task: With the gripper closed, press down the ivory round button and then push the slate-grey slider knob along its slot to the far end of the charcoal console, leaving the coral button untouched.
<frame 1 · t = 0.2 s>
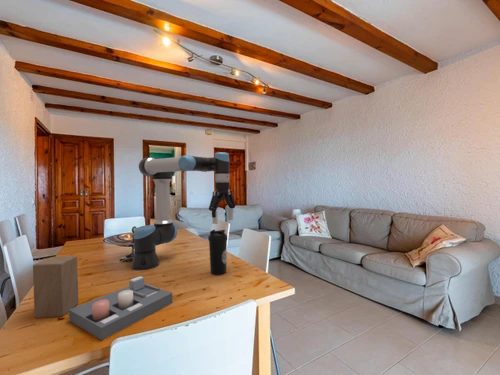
hand: (223, 221, 132), 28 cm above the table, fingers open, 13 cm apart
wooden block: (57, 311, 96), on the table
slider knob: (137, 283, 106), point 6 cm above the table, slide at 0.0 cm
console: (124, 311, 95), on the table
button coral: (100, 310, 85), point 6 cm above the table, slide at 0.0 cm
water bottle: (218, 272, 135), on the table
button ivory: (125, 299, 93), point 6 cm above the table, slide at 0.0 cm
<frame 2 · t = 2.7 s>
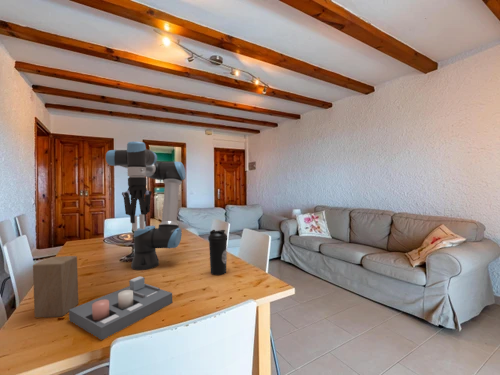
hand: (138, 229, 111), 29 cm above the table, fingers open, 3 cm apart
nothing on the table moved.
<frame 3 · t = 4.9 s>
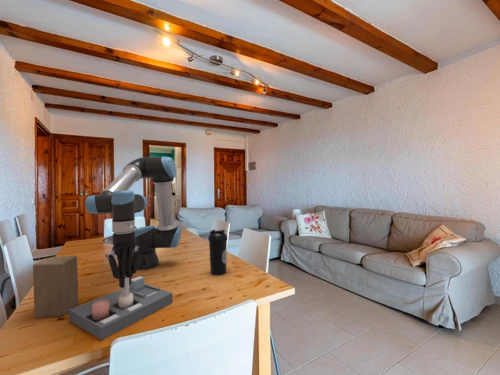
hand: (125, 294, 93), 8 cm above the table, fingers closed
button ivory: (125, 301, 93), point 5 cm above the table, slide at 1.0 cm, touching gripper
everything else where it was.
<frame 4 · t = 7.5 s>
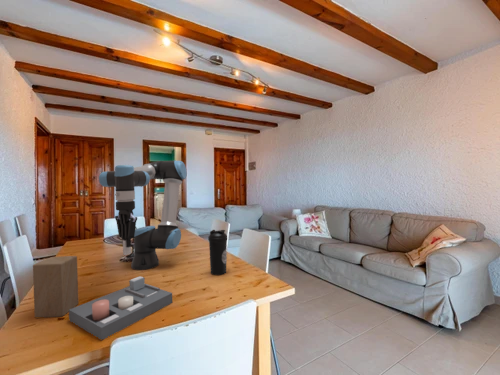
hand: (127, 254, 109), 18 cm above the table, fingers closed
button ivory: (125, 305, 93), point 3 cm above the table, slide at 2.3 cm
everything else where it was.
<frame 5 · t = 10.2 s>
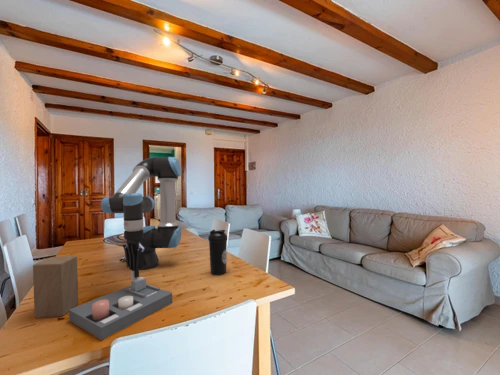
hand: (135, 284, 106), 6 cm above the table, fingers closed
slider knob: (138, 284, 105), point 6 cm above the table, slide at 1.1 cm, touching gripper
everything else where it was.
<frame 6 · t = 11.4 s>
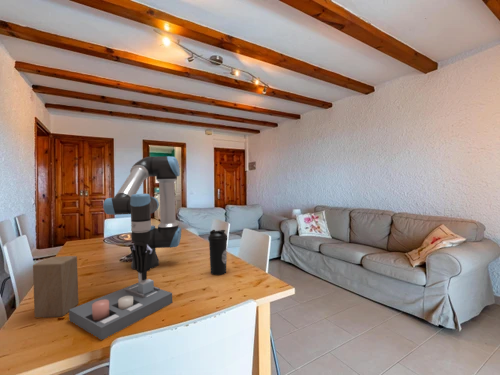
hand: (142, 287, 103), 6 cm above the table, fingers closed
slider knob: (146, 286, 102), point 6 cm above the table, slide at 6.1 cm, touching gripper
everything else where it was.
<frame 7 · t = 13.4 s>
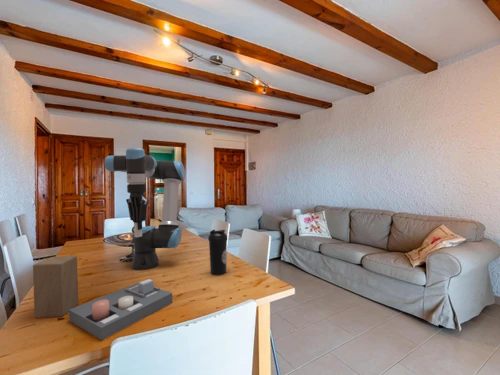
hand: (138, 236, 110), 25 cm above the table, fingers closed
slider knob: (146, 286, 102), point 6 cm above the table, slide at 6.2 cm
everything else where it was.
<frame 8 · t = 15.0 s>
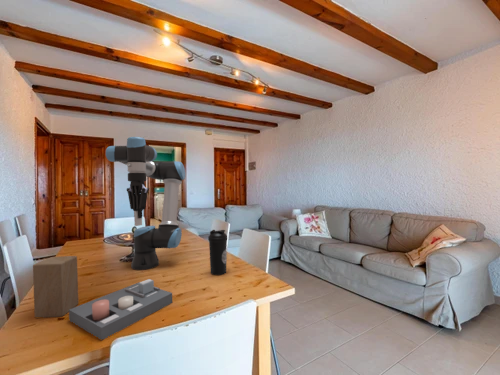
hand: (138, 225, 110), 30 cm above the table, fingers closed
nothing on the table moved.
at the end: button ivory slide at 2.3 cm; slider knob slide at 6.2 cm; button coral slide at 0.0 cm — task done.
